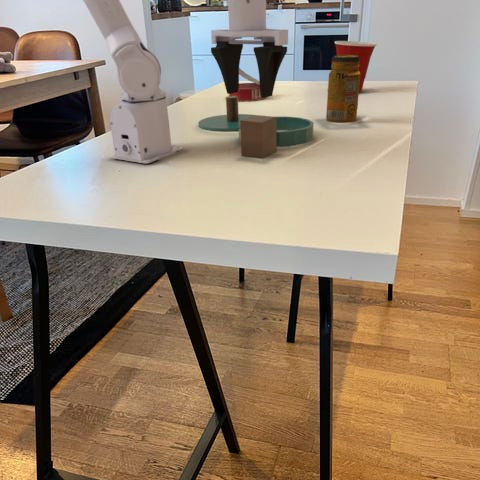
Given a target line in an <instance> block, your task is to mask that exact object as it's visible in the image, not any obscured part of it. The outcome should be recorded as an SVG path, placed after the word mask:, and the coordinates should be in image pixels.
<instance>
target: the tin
mask: <svg viewBox="0 0 480 480" xmlns="http://www.w3.org/2000/svg"><path fill="white" fill-rule="evenodd" d="M276 117H277V134H276V148H282V147H293V146H298V145H302V144H303V145H304V144H306V143H308V142H310V141H313V139H314V127H315V125H314V124H315V122H314V121H312V120H310V119H308V118H303V117H297V116H276ZM238 140H239V141H240V142H241V130H240V125H239V131H238Z"/></svg>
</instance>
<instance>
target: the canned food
mask: <svg viewBox="0 0 480 480" xmlns="http://www.w3.org/2000/svg"><path fill="white" fill-rule="evenodd" d="M239 76H240V77H242V78H244V79H246V80H247V81H249V82H243V83H242V82H241V83H240V82H239V89H238V92H237V93H232V94H228V96H238V102H256V101H261V100H264V99H265V98H262V97H261V95H260V83H259V80H258V79H256V78H254V77H253V76H251V75H250V74H248V73H246V72H245V71H244V70H242V69H241V68H240V67H239Z"/></svg>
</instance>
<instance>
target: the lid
mask: <svg viewBox="0 0 480 480" xmlns="http://www.w3.org/2000/svg"><path fill="white" fill-rule="evenodd" d="M225 105H226V106H225V107H226V114H219V115H213V116H208V117H205V118H202V119H200V120H199V121H198V123H197V125H198V127H199V128H201V129H202V130H206V131H212V132H213V131H214V132H239V125H240V120H243V119H246V118H248V117H251V116H254V115H255V114H251V113H250V114H249V113H248V114H246V113H239V101H238V96H229V95H228V96H225Z"/></svg>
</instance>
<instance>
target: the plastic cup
mask: <svg viewBox="0 0 480 480" xmlns="http://www.w3.org/2000/svg"><path fill="white" fill-rule="evenodd" d="M334 44H335V52H336V56H337V55H357V56H359V57H360V60H359V72H360V85H359V94H360V93H362V90H363V88H364V83H365V79H366V77H367V73H368V69H369V65H370V62H371V57H372V55H373V52H374V49H375V48H376V46H377V45H378V44H377V43H375V42H368V41H354V40H335V41H334Z"/></svg>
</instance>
